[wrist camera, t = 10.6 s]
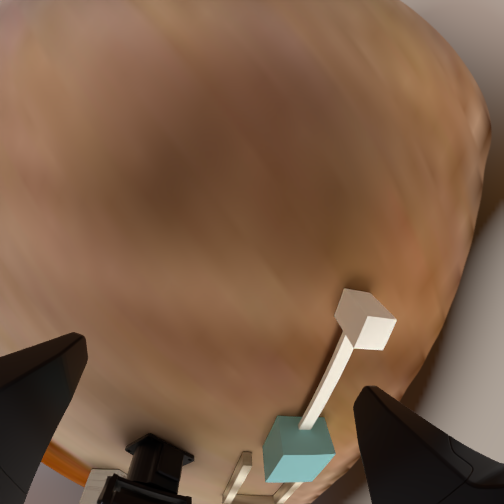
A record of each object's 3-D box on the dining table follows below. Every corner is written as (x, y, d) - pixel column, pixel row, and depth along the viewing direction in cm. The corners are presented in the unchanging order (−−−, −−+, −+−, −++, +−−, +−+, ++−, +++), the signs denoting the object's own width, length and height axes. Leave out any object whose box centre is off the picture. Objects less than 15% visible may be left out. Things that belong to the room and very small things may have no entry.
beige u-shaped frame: (277, 498, 29) (279, 514, 26) (222, 495, 29) (222, 513, 25) (313, 454, 26) (318, 476, 22) (242, 451, 25) (243, 475, 22)
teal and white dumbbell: (304, 448, 25) (311, 481, 20) (262, 446, 25) (265, 482, 20) (383, 295, 20) (414, 324, 15) (328, 285, 20) (352, 317, 15)
